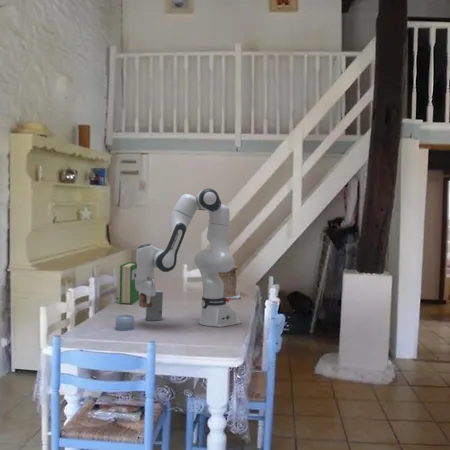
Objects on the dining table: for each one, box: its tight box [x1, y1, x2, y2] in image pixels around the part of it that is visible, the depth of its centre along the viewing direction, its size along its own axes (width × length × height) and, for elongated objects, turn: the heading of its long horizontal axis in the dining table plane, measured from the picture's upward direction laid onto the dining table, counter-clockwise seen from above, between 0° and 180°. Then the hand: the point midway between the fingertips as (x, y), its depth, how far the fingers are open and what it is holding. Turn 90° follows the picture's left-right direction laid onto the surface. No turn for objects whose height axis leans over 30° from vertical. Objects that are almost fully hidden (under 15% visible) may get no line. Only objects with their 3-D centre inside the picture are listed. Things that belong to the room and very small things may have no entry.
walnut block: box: [138, 293, 152, 309], centre depth 281 cm, size 5×5×6 cm
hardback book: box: [119, 261, 140, 305], centre depth 343 cm, size 18×7×24 cm, turn 174°
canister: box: [114, 314, 135, 332], centre depth 274 cm, size 9×9×6 cm
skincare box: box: [145, 289, 164, 322], centre depth 296 cm, size 8×7×16 cm
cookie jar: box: [218, 264, 241, 300], centre depth 371 cm, size 25×25×32 cm
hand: (145, 302), depth 281 cm, fingers closed on walnut block, 5 cm apart
